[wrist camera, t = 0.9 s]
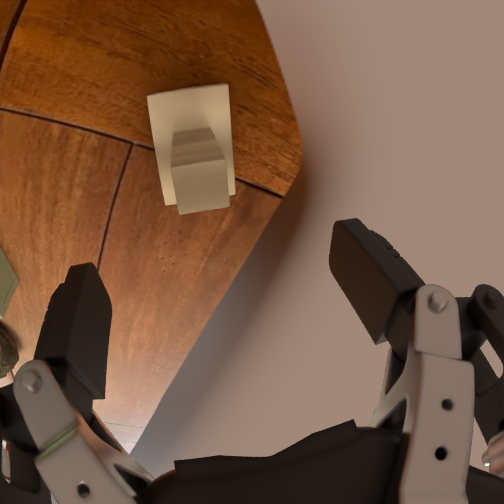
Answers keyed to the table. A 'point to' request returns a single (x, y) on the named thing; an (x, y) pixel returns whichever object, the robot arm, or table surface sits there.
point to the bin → (6, 283)
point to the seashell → (7, 353)
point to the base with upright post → (193, 146)
